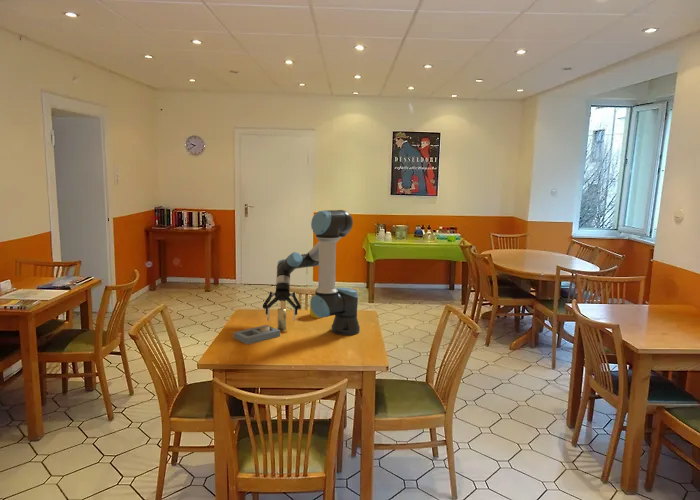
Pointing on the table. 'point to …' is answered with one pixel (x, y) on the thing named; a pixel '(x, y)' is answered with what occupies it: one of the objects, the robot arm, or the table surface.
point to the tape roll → (313, 313)
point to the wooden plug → (264, 328)
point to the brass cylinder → (281, 319)
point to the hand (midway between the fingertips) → (281, 319)
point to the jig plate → (255, 335)
